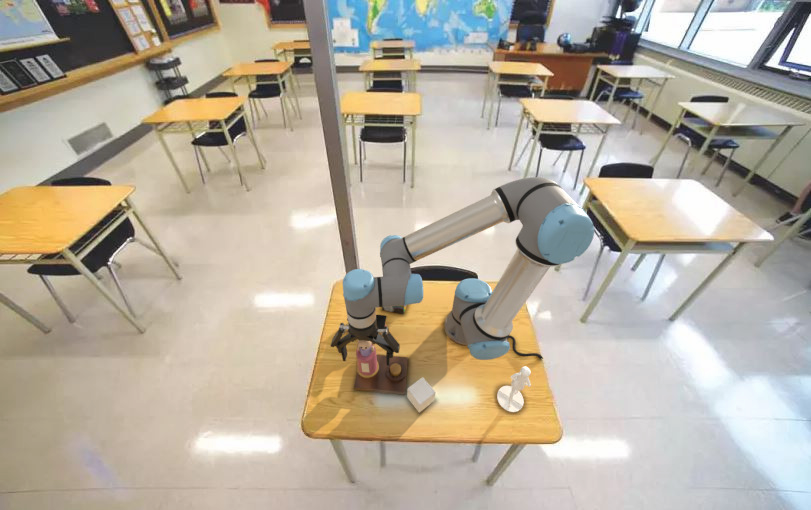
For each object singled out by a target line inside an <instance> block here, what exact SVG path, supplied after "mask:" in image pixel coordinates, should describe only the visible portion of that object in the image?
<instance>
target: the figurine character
mask: <svg viewBox="0 0 811 510" xmlns="http://www.w3.org/2000/svg"><path fill="white" fill-rule="evenodd" d="M387 318H388V315H385V314H376V322H377V327H378V329H384V327H388V325H387V324H386V323H387ZM346 321H347V322H348V318H347V317H346ZM345 326H348V327H349V324H345ZM346 333H347V334H348V333H349V332H348V331H346Z"/></svg>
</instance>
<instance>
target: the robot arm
mask: <svg viewBox="0 0 811 510" xmlns="http://www.w3.org/2000/svg"><path fill="white" fill-rule="evenodd" d="M515 221H519V222H520V223H521V225H522V227H521V229H520V230H519V232H518V234H517V236H516V238H515V241H514V244H515V246H516V248H517V249H516V251H515V252H514V254H513V256H512V257H511V259H510V261H509V263H508V264H507V266H506V268H505V269H504V272H503V273H502V275H501V276H500V278H499V279H498V282H497V284H495V287H494V289H492V287H491V285H489V283H488V282H486V281H485V280H481V279H479V278H473V277H472V278H465V279H462V280H460V281H459V283H458V284H457V285H456V286H455V287H456V288H455V289H454V297H453V303H452V308H451V311H450V312H449V313H448V314H447V315H446V317H445V320H444V323H443V324H444V325H443V330H444V332H445V334H446V336H447V337H448V339H449V340H451V341H452V342H453V343H454V344H456V345H459V346H462V347H466V348H467V349H468V351H469V353H470V355H471V357H473V358H474V359H475V360H479V361H490V360H495V359H497V358H501V357H503V356H505V355H507V354H508V353H509V351H510V349H511V346H510V342H509V341H508V340H509V339H511V340H512V351H513V352H514V353H515V354H516V355H517V356H520V357H537V358H539V359H540V360H544V357H543V356H542V355H541V354H539V353H537V352H536V353H535V352H531V353H530V352H529V353H522V352H519V351H518V350H517V348H516V345H517V344H516V343H517V342H516V338H515V337H514V336H512V335H511V333H512V331H513V328H514V324H513V321H514V319H515V318H516V316H517V315H518V314H519V312H520V311H521V310H522V308H523V307H524V305H525V303H526V302H527V301H528V300H529V298H530V297H531V295H533V293H534V291H535V290H536V288H537V287H538V285H539V284H540V282H541V281H542V279H543V278H544V276H545V275H546V274H547V273H548V271H549V269H550V268H553V267H558V266H560V265H564V264H567V263H570V262H573V261H575V259H576V257H577V258H579V257H581V256H582V255H583V254H585V252H586V251H587V250H589V247H590V246H591V244H592V242H593V239H594V236H595V226H594V223H593V221H592V219H591V218H590V216H589V215H588V214H587V211H586V210H585V209H584V208H583V207H582V206H580V205H579V204H578V203H577V202H576V201H575V200H574V199H573V198H572V197H571V196H570V195H569V194H568V193H567V192H566V191H565V190H564V189H563V188H562V186H561V185H560V184H558V183H557V182H556V181H554V180H552V179H550V178H547V177H542V176H532V177H531V176H530V177H524V178H519V179H515V180H513V181H509V182H507V183H505V184H501V185H500V186H498V187H496V188H493V189H492V191H491V194H490V195H488V196H486V197H484V198H481V199H480V200H477V201H475V202H474V203H471V204H470V205H468V206H465V207H463V208H461V209H459V210H456V211H455V212H453V213H451V214H449V215H446V216H445V217H442V218H440V219H438V220H436V221H434V222H431V223H430V224H427V225H425V226H424V227H421V228H419V229H417V230H415V231H413V232H411V233H409V234H407V235H405V236H400V235H398V234H393V235H391V234H390V235H388V236H386V237H384V238H383V239H382V241H381V242H380V245H379V257H380V261H381V269H382V276H373V275H374V274H373V273H372V272H371V271H369V270H368V269H363V268H355V269H352V270H350V271H348V272H347V273H346V274H345V275H344V277H343V278H342V296H343V300H344V305H345V310H346V319H347V318H348V321H347V323H348V324H347V325H349V327H348V326H345V325H346V324H345V323H344V322H340V323H339V326H338V330H337V331H336V333H335V334H334V336H333V337H332V339H331V342H330V347H331V348H335V347H336V349H337V352H338V354H340V355H341V358H342V361H343V362H346V360H347V357H348V349H347V345H349V344H350V343H353V342H355V341H356V340H357V341H358V340H365V341H370V342H372V345H375V344H376V345H377V346H378V347H380V348H381V349H382V350H384V351H385V353H386V354H385V355H386V360H387V365H389V363H390V358H393V356H394V354H399V353H400V348H401V345H400V343H399V342H398V340H397V339H396V338H395V337H394V335H393V334H392V333H391V332H390V329H389V327H388V326H387V327H384V329H378V327H377V322H376V315H377V310H376V309H378V308H382V307H389V306H402V305H405V306H406V305H407V306H409V305H415V304H421V303H422V302H423V300H424V284H423V278H422V276H421V275H420V274H419V273H412V270H411V269H412V268H411V264H413V263H415V262H418V261H419V260H421V259H424V258H426V257H428V256H430V255H433V254H435V253H437V252H439V251H441V250H444V249H446V248H448V247H450V246H452V245H455V244H457V243H459V242H461V241H464V240H465V239H468V238H470V237H472V236H475V235H477V234H479V233H481V232H484V231H486V230H488V229H490V228H492V227H495V226H497V225H498V224H501V223H506V224H511V223H513V222H515ZM407 306H406V307H407ZM346 331H348V332H349V333H348V332H346ZM346 333H347V334H346ZM345 334H346V335H345ZM343 335H344V336H343ZM541 358H542V359H541Z"/></svg>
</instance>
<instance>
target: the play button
mask: <svg viewBox="0 0 811 510" xmlns="http://www.w3.org/2000/svg"><path fill="white" fill-rule="evenodd" d="M390 373H391V375H392V376H395V377H396V376H399V375H400V374H401V366H400V365H399V364H397V363H395V364H392V365H391V367H390Z"/></svg>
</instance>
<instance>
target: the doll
mask: <svg viewBox="0 0 811 510" xmlns="http://www.w3.org/2000/svg"><path fill="white" fill-rule="evenodd" d="M355 355H356V362H357V365H356V372H357V371H358V373H359V375H360V376H362V377H364V378H370V377H373V376H374V375H376V373H377V372H378V370H379V364H378V361H377V356H376V355H377V349H376V346H375V344H373V343H372V342H370V341H365V340H358V339H357V345H356V351H355Z"/></svg>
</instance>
